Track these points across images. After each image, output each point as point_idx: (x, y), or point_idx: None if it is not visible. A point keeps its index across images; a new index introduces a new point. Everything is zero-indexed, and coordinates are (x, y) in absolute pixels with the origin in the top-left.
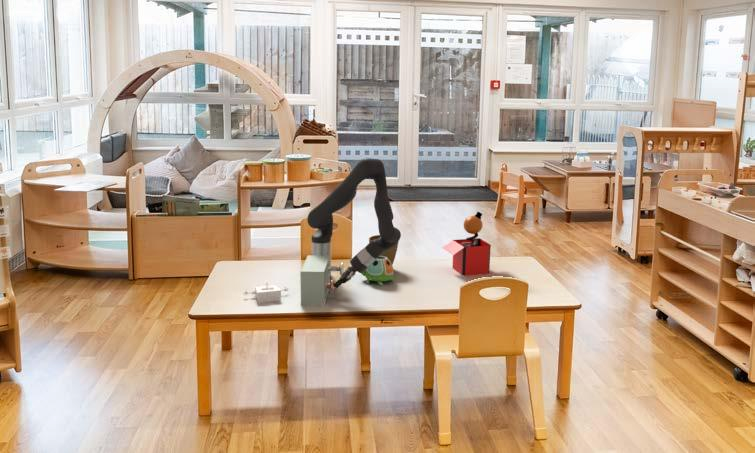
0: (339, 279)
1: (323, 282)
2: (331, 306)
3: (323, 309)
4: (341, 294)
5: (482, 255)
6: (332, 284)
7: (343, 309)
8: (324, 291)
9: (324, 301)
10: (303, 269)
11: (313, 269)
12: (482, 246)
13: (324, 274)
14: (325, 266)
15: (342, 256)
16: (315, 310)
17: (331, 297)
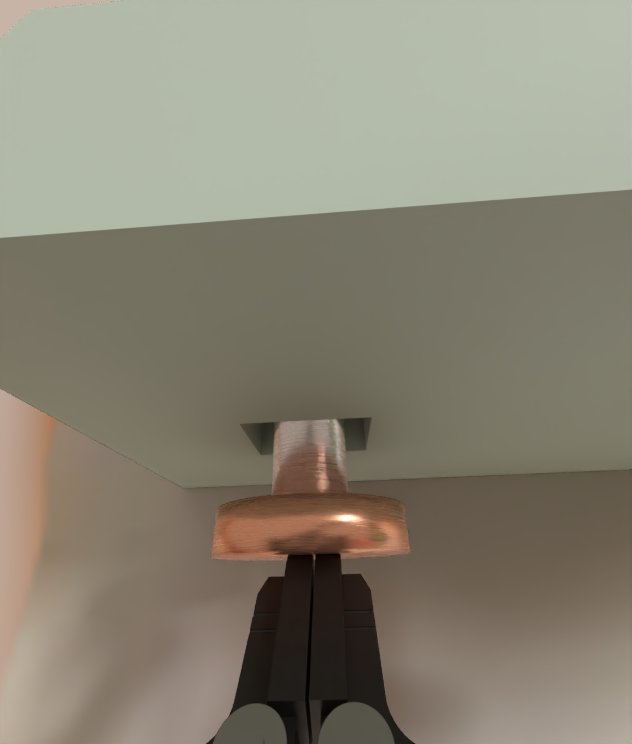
0: (223, 724)
1: (25, 393)
2: (149, 561)
3: (85, 496)
4: (535, 632)
5: None
6: (217, 541)
7: (32, 721)
8: (168, 452)
9: (202, 481)
10: (129, 10)
11: (90, 80)
12: None
13: (14, 326)
14: (344, 203)
15: None
16: (78, 437)
17: (407, 526)
